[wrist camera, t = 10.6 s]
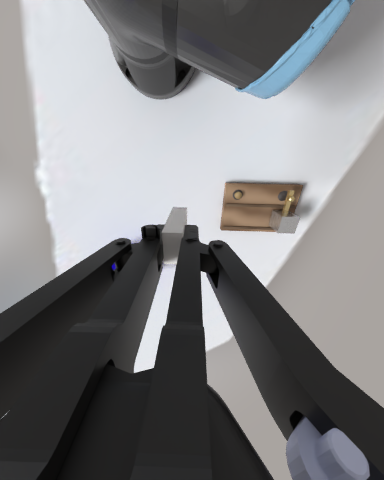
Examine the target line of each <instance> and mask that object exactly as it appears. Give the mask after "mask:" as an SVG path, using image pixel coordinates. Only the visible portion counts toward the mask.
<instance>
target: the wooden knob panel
mask: <svg viewBox="0 0 384 480" xmlns="http://www.w3.org/2000/svg"><path fill="white" fill-rule="evenodd" d="M302 187H303V185H295V184H256V183H225V190H224V199H223V208H222V217H221V226H220V229H221V230H229V231H265V232H276V231H275V230H274V229H272V228H271V227H270V226H269V222H270V218H271V214H272V210H283V206H284V203H285V200H286V196H287V193H288V190H294V195H293V197H295V201H294V202H291V204H290V208H289V211H290V212H292V213H294V212H295V209H296V206H297V203H298V200H299V197H300V194H301V191H302Z"/></svg>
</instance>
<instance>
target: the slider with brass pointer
mask: <svg viewBox="0 0 384 480" xmlns="http://www.w3.org/2000/svg"><path fill="white" fill-rule="evenodd" d="M293 195H294V190H288V193H287V196H286V200H285V203H284V206H283V210H272V214H271V218H270V222H269V226H270V227H271V228H272V229H274V230H275V231H276V232H277V233H295V231H296V228H297V225H298V222H299V219H300V217H299V216H297V215H295V214H294V213H292V212H290V211H289V208H290V204H291V202H294V201H295V197H293Z"/></svg>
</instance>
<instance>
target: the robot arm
mask: <svg viewBox="0 0 384 480" xmlns="http://www.w3.org/2000/svg"><path fill="white" fill-rule="evenodd" d="M84 1H85V3H86V4H87V6H88V7H89V8H90V10H91V11H92V13H93V14H94V16H95V17H96V18H97V20H98V21H99V23H100V24H101V25H102V27H103V28H104V30H105V31H106V32H107V34H108V37H109V41H110V45H111V48H112V51H113V54H114V57H115V59H116V62H117V64H118V66H119V68H120V69H121V71H122V73H123V74H124V76H125V77H126V78H127V79H128V81H129V82H130V83H131V84H132V85H133V86H134V87H135V88H136V89H137V90H138V91H139V92H140V93H142V94H144V95H145V96H147V97H150V98H153V99H167V98H170V97H173V96H175V95H176V94H178V93H179V92H180V91H181V90H182V89H183V88H184V87H185V86H186V85H187V83H188V82H189V80H190V79H191V77H192V75H193V72H194V70H195V68H197V69H199V70H201V71H203V72H205V73H207V74H209V75H211V76H213V77H215V78H217V79H219V80H221V81H223V82H225V83H227V84H229V85H231V86H233V87H235V89H236V90H237V91H238V92H246V93H249V94H251V95H254V96H256V97H258V98H262V99H267V98H270V97H272V96H276V95H278V94H279V93H281V92H282V91H283V90H285V89H286V88H287V87H288V86H290V85H291V84H292V83H293V82H294V81H295V80H296V79H297V78H298V77H299V76H300V75H301V74H302V73H303V72H304V71H305V70H306V68H307V67H308V66H309V65H310V64H311V63H312V62H313V60H314V59H315V58H316V57H317V56H318V54H319V53H320V52H321V51H322V49H323V48H324V47H325V46H326V44H327V43H328V42H329V41H330V39H331V38H332V37H333V35H334V34H335V33H336V31H337V30H338V28H339V27H340V26H341V24H342V23H343V21H344V20H345V18H346V17H347V15H348V14H349V12H350V6H351V5H352V4H353V2H354V1H355V0H84ZM141 231H142V240H141V241H140V243H134V244H131V240H129V239H127V238H119V239H117V240H114V241H112V242H111V243H109V244H107V245H106V246H104V247H103V248H101V249H100V250H98V251H97V252H95V253H93V254H92V255H90V256H89V257H87V258H86V259H84V260H83V261H81V262H80V263H78V264H76V265H75V266H73V267H72V268H70V269H69V270H67V271H66V272H64V273H62V274H61V275H59V276H58V277H56V278H55V279H53V280H52V281H50V282H49V283H47V284H45V285H44V286H42V287H41V288H39V289H38V290H36V291H35V292H33V293H31V294H30V295H28V296H27V297H25V298H24V299H22V300H21V301H19V302H17V303H16V304H14V305H13V306H11V307H10V308H8V309H7V310H5V311H4V312H2V313H0V480H274V479H273V477H272V476H271V474H270V473H269V471H268V470H267V468H266V466H265V465H264V463H263V462H262V460H261V459H260V457H259V456H258V454H257V452H256V451H255V449H254V448H253V446H252V445H251V443H250V441H249V440H248V438H247V437H246V435H245V433H244V432H243V430H242V429H241V427H240V426H239V424H238V422H237V421H236V419H235V418H234V416H233V415H232V413H231V411H230V410H229V408H228V407H227V405H226V404H225V402H224V401H223V400H222V398H221V397H220V396H219V395H218V394H217V392H216V391H215V390H213V388H212V387H210V386H209V385H208V384H207V373H206V353H205V333H204V327H203V319H202V295H201V271H202V272H206V274H207V278H208V280H209V282H210V284H211V286H212V288H213V291H214V293H215V295H216V297H217V299H218V301H219V304H220V306H221V308H222V310H223V312H224V315H225V317H226V319H227V321H228V323H229V325H230V328H231V330H232V332H233V334H234V336H235V338H236V341H237V343H238V345H239V347H240V349H241V351H242V354H243V356H244V358H245V360H246V362H247V365H248V367H249V369H250V371H251V373H252V375H253V378H254V380H255V382H256V384H257V386H258V389H259V391H260V393H261V395H262V397H263V399H264V401H265V403H266V405H267V407H268V409H269V411H270V413H271V415H272V417H273V418H274V420H275V422H276V424H277V425H278V427H279V428H280V430H281V432H282V433H283V435H284V437H285V438H286V440H287V441H288V442H287V447H286V456H287V463H288V467H289V470H290V473H291V476H292V479H293V480H384V408H383V407H382V406H380V405H379V404H378V403H377V402H376V401H374V400H373V399H372V398H370V397H369V396H368V395H367V394H365V392H363V391H362V390H361V389H360V388H359V387H357V386H356V385H355V384H354V383H352V382H351V381H350V380H349V379H348V378H346V377H345V376H344V375H343V374H342V373H340V372H339V371H338V370H336V368H335V367H334V366H333V365H332V364H331V363H330V362H329V361H328V359H326V357H325V356H324V355H323V354H322V352H321V351H320V350H319V349H318V348H317V347H316V346H315V344H314V343H313V342H312V341H311V340H310V339H309V337H308V336H307V335H306V334H305V333H304V332H303V331H302V329H301V328H300V327H299V326H298V325H297V324H296V323H295V322H294V320H293V319H292V318H291V317H290V316H289V314H288V313H287V312H286V311H285V310H284V309H283V308H282V306H281V305H280V304H279V303H278V302H277V301H276V300H275V298H274V297H273V296H272V295H271V294H270V293H269V291H268V290H267V289H266V288H265V287H264V286H263V285H262V283H261V282H260V281H259V280H258V279H257V278H256V276H255V275H254V274H253V273H252V272H251V271H250V270H249V268H248V267H247V266H246V265H245V264H244V263H243V262H242V260H241V259H240V258H239V257H238V256H237V255H236V253H235V252H234V251H233V250H232V249H231V248H230V247H229V245H228V244H227V243H225V242H223V241H220V240H215V241H211V242H210V243H209V245H206V244H203V243H201V242H200V241H199V236H198V227H197V226H196V225H187V208H181V207H173V209H172V211H171V213H170V215H169V217H168V219H167V222H166V224H165V225H146V226H143V227H142V228H141ZM163 260H164V264H177V265H176V271H175V276H174V282H173V287H172V292H171V298H170V303H169V309H168V314H167V320H166V324H165V326H163V328H162V331H161V335H160V340H159V345H158V350H157V355H156V360H155V365H154V368H152V369H148V370H145V371H141V372H137V373H134V363H135V359H136V356H137V352H138V349H139V346H140V342H141V339H142V336H143V332H144V329H145V326H146V322H147V319H148V315H149V312H150V309H151V305H152V302H153V299H154V295H155V292H156V288H157V285H158V282H159V278H160V275H161V272H162V268H163V265H162V261H163ZM114 263H115V266H116V268H115V269H114V270H113V269H112V265H113V264H114ZM8 411H9V412H8ZM7 412H8V413H7ZM6 413H7V414H6ZM5 414H6V415H5ZM4 415H5V416H4ZM3 416H4V417H3ZM2 417H3V418H2ZM1 418H2V419H1Z"/></svg>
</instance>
